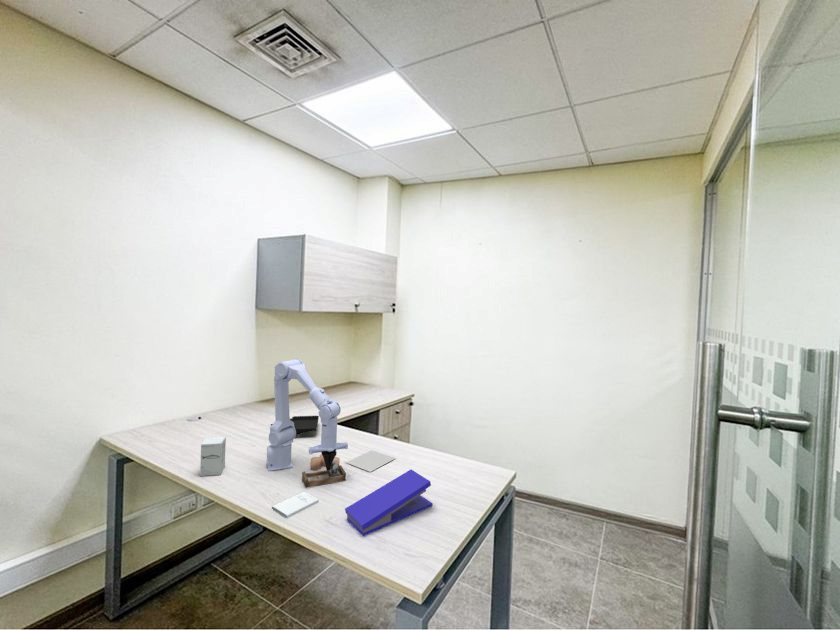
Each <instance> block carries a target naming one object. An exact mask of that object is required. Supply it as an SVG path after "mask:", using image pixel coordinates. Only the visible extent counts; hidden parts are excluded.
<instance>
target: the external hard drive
mask: <svg viewBox="0 0 840 630" xmlns="http://www.w3.org/2000/svg"><path fill="white" fill-rule="evenodd" d="M317 503H319V499H318V498H317V497H315V496H313V495H312V494H309V493H307V492H305V491H302V492H300V493H298V494H296V495H294V496H292V497H290V498H287V499H286V500H283V501H281V502H279V503H276V504H274V505H272V506H271V510H272V509H273V510H272V511H274V512H276V513H278V514H279V515H281V516H282V517H283V518H285V519H289V518H291V517H292V516H294V515H296V514H298V513H300V512H302V511H304V510H306V509H308V508H309V507H311V506H314V505H315V504H317Z"/></svg>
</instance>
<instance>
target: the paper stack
mask: <svg viewBox="0 0 840 630" xmlns="http://www.w3.org/2000/svg"><path fill="white" fill-rule="evenodd" d="M395 459H396V457H393V456H390V455H387V454H384V453H381V452H378V451H376V450H373V449H372V450H369V451H367V452H365V453H363V454H361V455H359V456H356V457H354V458H352V459H350V460H348V461H345V463H346V464H348V465H351V466H354V467H356V468H359V469H362V470H365V471H367V472H369V473H370V472H373V471H375V470H377V469H379V468H380V467H382V466H384V465H386V464H388V463H390V462H392V461H394V460H395Z"/></svg>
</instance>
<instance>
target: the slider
mask: <svg viewBox="0 0 840 630" xmlns="http://www.w3.org/2000/svg"><path fill="white" fill-rule="evenodd" d="M329 474H330V476H331V477H334V476H339V475H340V473H339V471H338V462H332V465H331V469H330V470H329Z"/></svg>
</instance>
